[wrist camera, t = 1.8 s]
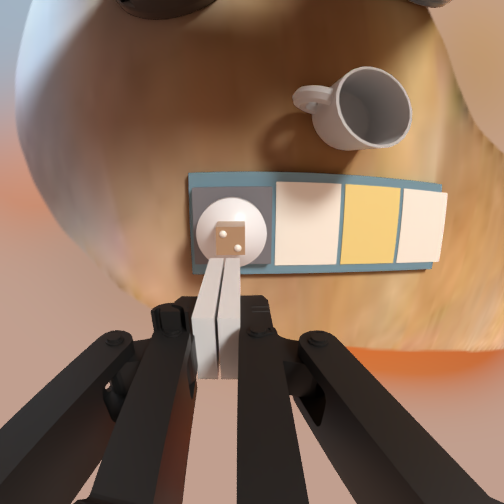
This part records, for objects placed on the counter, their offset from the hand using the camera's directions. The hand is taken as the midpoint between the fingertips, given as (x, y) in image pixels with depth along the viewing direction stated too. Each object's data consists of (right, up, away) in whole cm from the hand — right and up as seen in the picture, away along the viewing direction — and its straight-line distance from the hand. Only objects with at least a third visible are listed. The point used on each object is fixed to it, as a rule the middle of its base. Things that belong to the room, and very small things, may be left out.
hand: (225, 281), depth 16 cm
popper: (0, +4, +12) cm, 13 cm away
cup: (+10, +16, +13) cm, 23 cm away
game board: (+10, +5, +16) cm, 19 cm away
